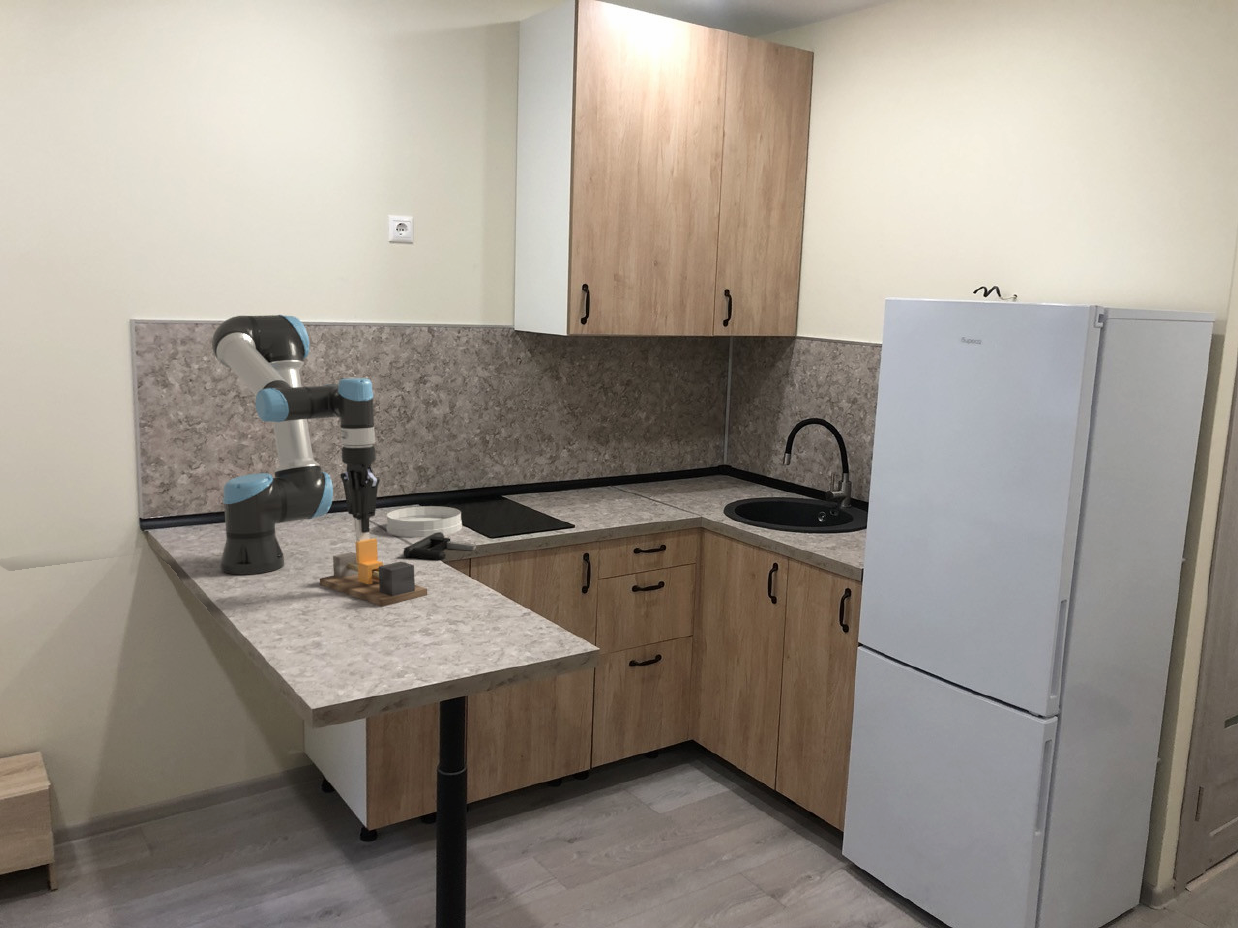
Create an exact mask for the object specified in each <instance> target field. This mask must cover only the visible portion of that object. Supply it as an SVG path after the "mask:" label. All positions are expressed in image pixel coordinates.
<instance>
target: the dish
mask: <svg viewBox="0 0 1238 928" xmlns="http://www.w3.org/2000/svg"><path fill="white" fill-rule="evenodd" d="M385 527H386V532H387V534H389V535H392V536H395V537H404V538H426V537H428V536H430V535H432V534H434V533H437V532H441V533H443V535H444V536H447V535H452V534H454V533H458V532H459V531H461V530H462V527H463V522H462V511H461V510H460V509H457V508H455V507H448V506H439V505H438V506H434V505H429V506H428V505H427V506H424V505H423V506H412V507H404V508H399V509H395V510H392V511H390V512H388V513H387V514H386V526H385Z"/></svg>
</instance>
